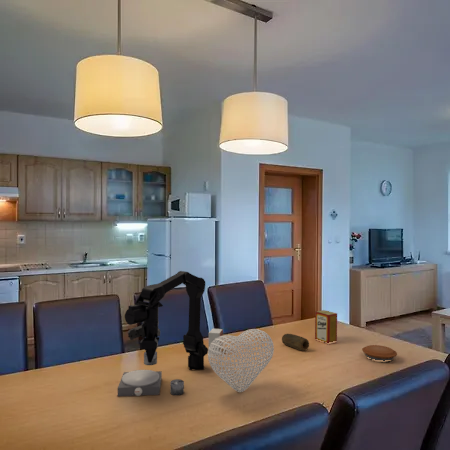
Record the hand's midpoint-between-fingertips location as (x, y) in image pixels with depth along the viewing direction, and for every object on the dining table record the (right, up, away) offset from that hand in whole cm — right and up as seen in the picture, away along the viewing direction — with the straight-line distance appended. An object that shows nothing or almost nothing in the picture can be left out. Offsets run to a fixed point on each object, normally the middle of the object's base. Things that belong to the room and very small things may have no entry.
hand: (150, 359), depth 153 cm
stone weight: (+65, -11, +50) cm, 83 cm away
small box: (+24, -11, +42) cm, 49 cm away
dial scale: (-4, -10, 0) cm, 11 cm away
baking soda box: (+83, -11, +62) cm, 104 cm away
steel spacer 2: (+11, -11, -5) cm, 16 cm away
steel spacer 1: (0, -1, 0) cm, 1 cm away
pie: (+102, -12, +36) cm, 109 cm away
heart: (+35, -11, -3) cm, 37 cm away
